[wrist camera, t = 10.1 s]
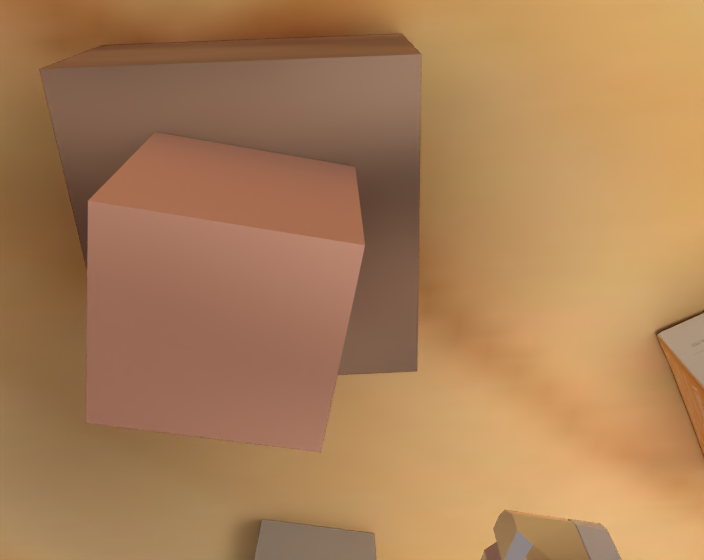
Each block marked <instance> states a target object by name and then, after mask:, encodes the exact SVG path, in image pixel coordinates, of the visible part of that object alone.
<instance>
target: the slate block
mask: <svg viewBox="0 0 704 560" xmlns="http://www.w3.org/2000/svg"><path fill="white" fill-rule="evenodd" d="M254 560H376V547H375V534H374V533H367V532H360V531H352V530H344V529H336V528H328V527H320V526H313V525H305V524H297V523H289V522H281V521H273V520H266V519H262V522H261V527H260V532H259V537H258V542H257V547H256V552H255V558H254Z"/></svg>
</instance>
